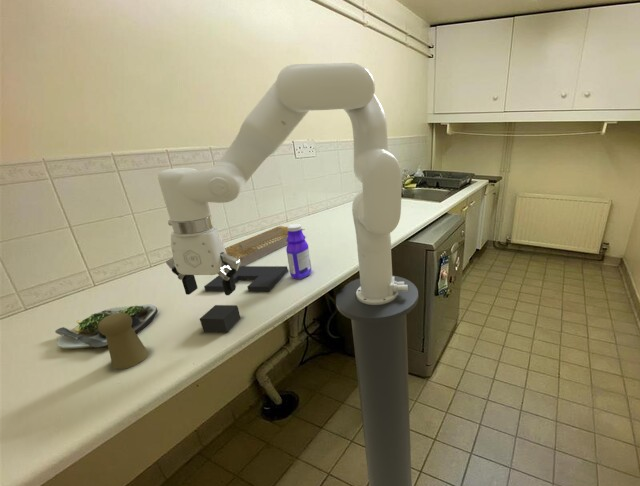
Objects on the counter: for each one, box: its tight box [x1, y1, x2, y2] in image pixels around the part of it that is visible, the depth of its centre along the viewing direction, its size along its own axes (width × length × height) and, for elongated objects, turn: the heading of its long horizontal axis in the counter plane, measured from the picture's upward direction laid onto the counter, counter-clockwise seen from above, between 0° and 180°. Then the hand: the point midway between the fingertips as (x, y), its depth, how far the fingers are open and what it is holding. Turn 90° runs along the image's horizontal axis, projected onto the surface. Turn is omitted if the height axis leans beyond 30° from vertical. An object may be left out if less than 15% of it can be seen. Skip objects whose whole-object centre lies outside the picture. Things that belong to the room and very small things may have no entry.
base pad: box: [204, 265, 289, 293], centre depth 101 cm, size 20×14×2 cm
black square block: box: [199, 304, 241, 334], centre depth 78 cm, size 6×6×4 cm
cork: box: [98, 313, 149, 370], centre depth 66 cm, size 6×6×11 cm
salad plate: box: [54, 304, 159, 349], centre depth 77 cm, size 19×18×5 cm
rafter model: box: [225, 225, 305, 267], centre depth 126 cm, size 35×14×6 cm, turn 158°
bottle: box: [285, 223, 312, 280], centre depth 101 cm, size 7×6×17 cm
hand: (211, 292), depth 75 cm, fingers open, 9 cm apart
